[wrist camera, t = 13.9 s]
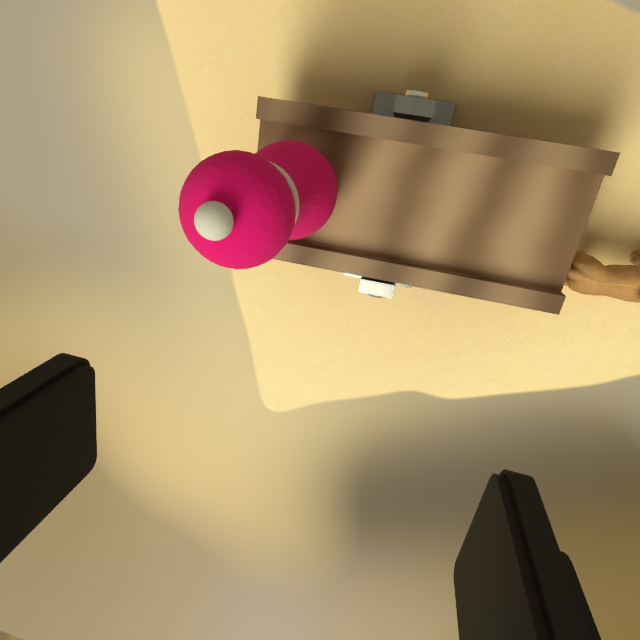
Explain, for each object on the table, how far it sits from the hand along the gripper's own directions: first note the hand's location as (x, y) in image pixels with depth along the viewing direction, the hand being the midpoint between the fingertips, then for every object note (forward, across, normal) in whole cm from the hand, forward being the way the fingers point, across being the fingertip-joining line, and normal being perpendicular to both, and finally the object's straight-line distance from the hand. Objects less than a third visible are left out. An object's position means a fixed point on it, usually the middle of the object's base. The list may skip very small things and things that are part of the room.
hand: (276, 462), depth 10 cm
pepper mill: (+31, +7, -2) cm, 32 cm away
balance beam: (+32, -2, -2) cm, 33 cm away
